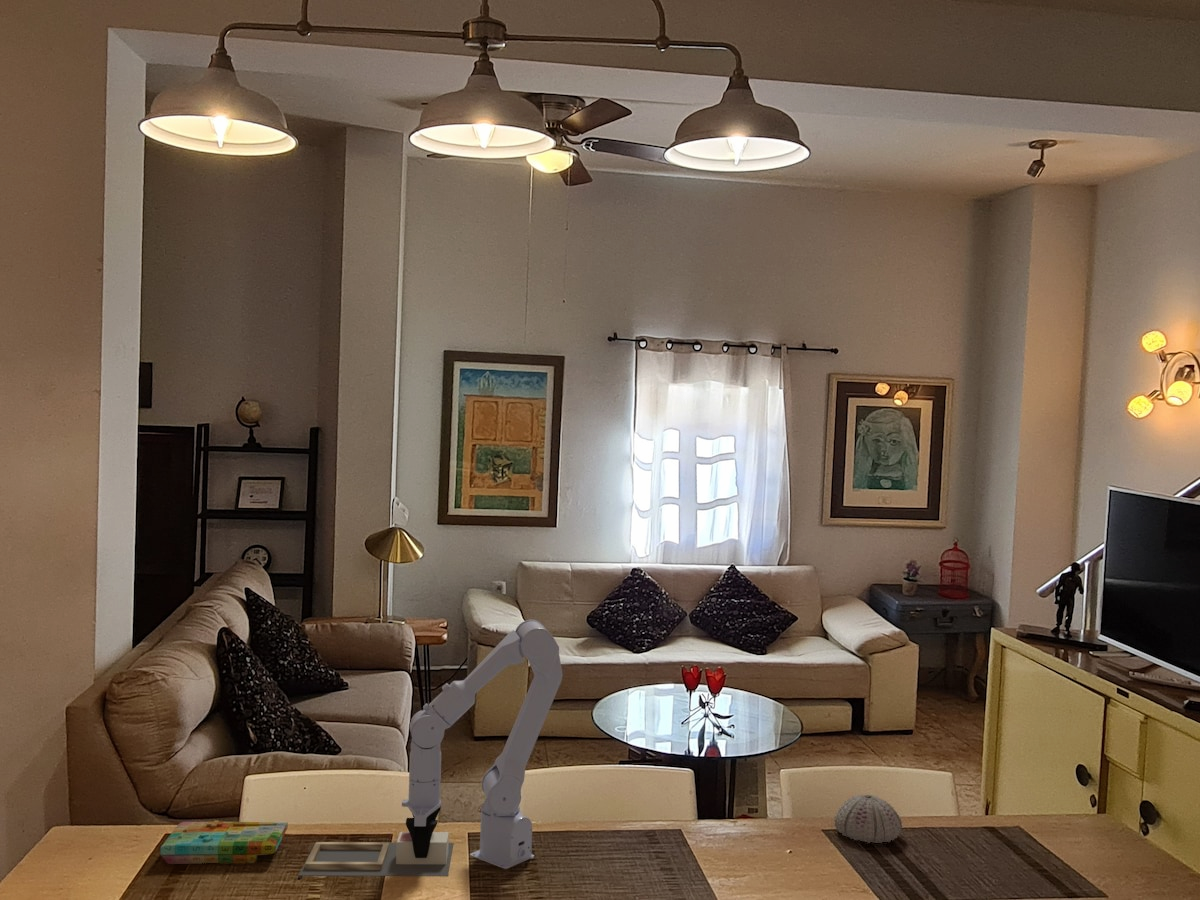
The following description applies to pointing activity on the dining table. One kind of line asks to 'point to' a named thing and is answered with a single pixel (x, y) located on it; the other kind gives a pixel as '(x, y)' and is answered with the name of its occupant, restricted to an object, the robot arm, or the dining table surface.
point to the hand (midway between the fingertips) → (422, 851)
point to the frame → (377, 865)
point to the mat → (372, 856)
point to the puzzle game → (222, 842)
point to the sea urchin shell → (868, 819)
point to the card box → (435, 853)
